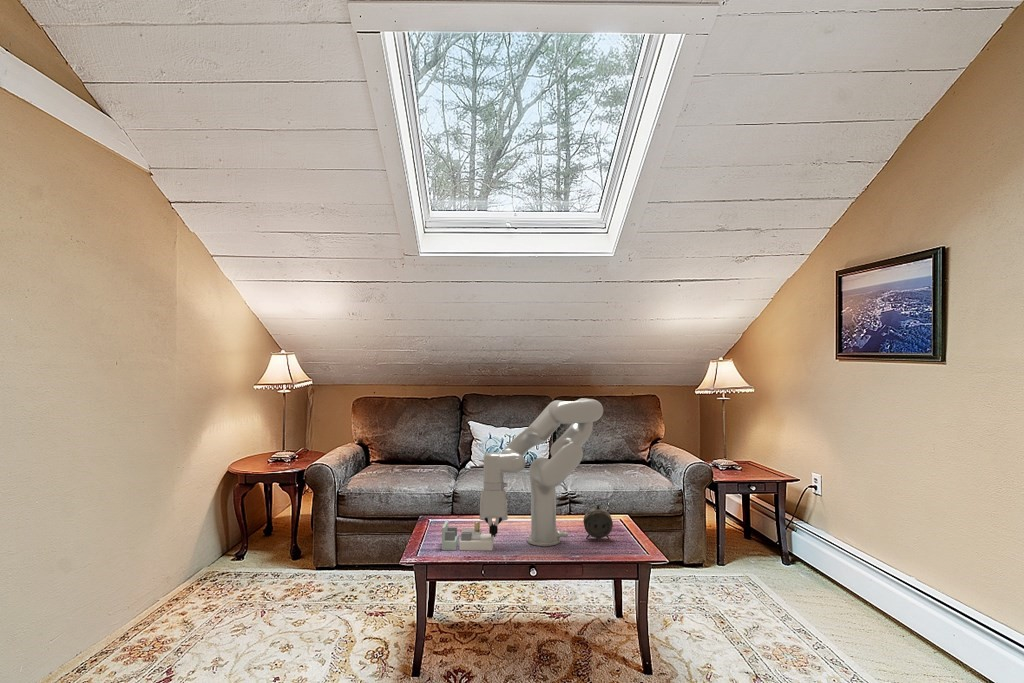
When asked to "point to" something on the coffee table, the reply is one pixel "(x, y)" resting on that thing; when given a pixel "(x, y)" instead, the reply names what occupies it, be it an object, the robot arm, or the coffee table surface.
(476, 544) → the door board
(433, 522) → the coffee table surface
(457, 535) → the door jamb
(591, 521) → the alarm clock
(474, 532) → the bolt
